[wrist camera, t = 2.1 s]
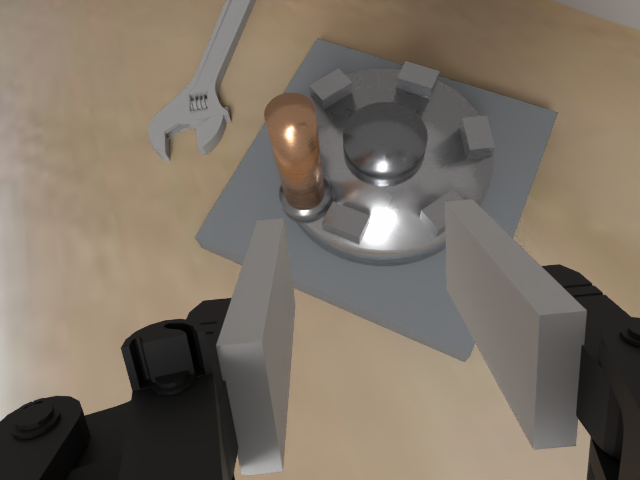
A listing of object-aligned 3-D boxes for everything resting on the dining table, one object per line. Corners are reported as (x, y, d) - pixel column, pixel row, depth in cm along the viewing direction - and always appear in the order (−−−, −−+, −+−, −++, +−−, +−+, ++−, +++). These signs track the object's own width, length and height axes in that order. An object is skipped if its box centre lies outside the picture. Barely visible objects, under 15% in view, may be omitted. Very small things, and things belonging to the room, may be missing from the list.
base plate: (550, 127, 45) (558, 112, 43) (464, 362, 37) (470, 356, 35) (318, 54, 50) (317, 38, 48) (201, 247, 42) (194, 237, 41)
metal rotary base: (399, 64, 46) (413, -78, 35) (528, 190, 40) (599, 71, 29) (237, 161, 43) (191, 41, 31) (351, 314, 37) (348, 237, 25)
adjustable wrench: (247, -33, 57) (243, -48, 55) (303, -23, 55) (301, -38, 54) (145, 154, 47) (137, 143, 45) (210, 171, 46) (204, 160, 44)
